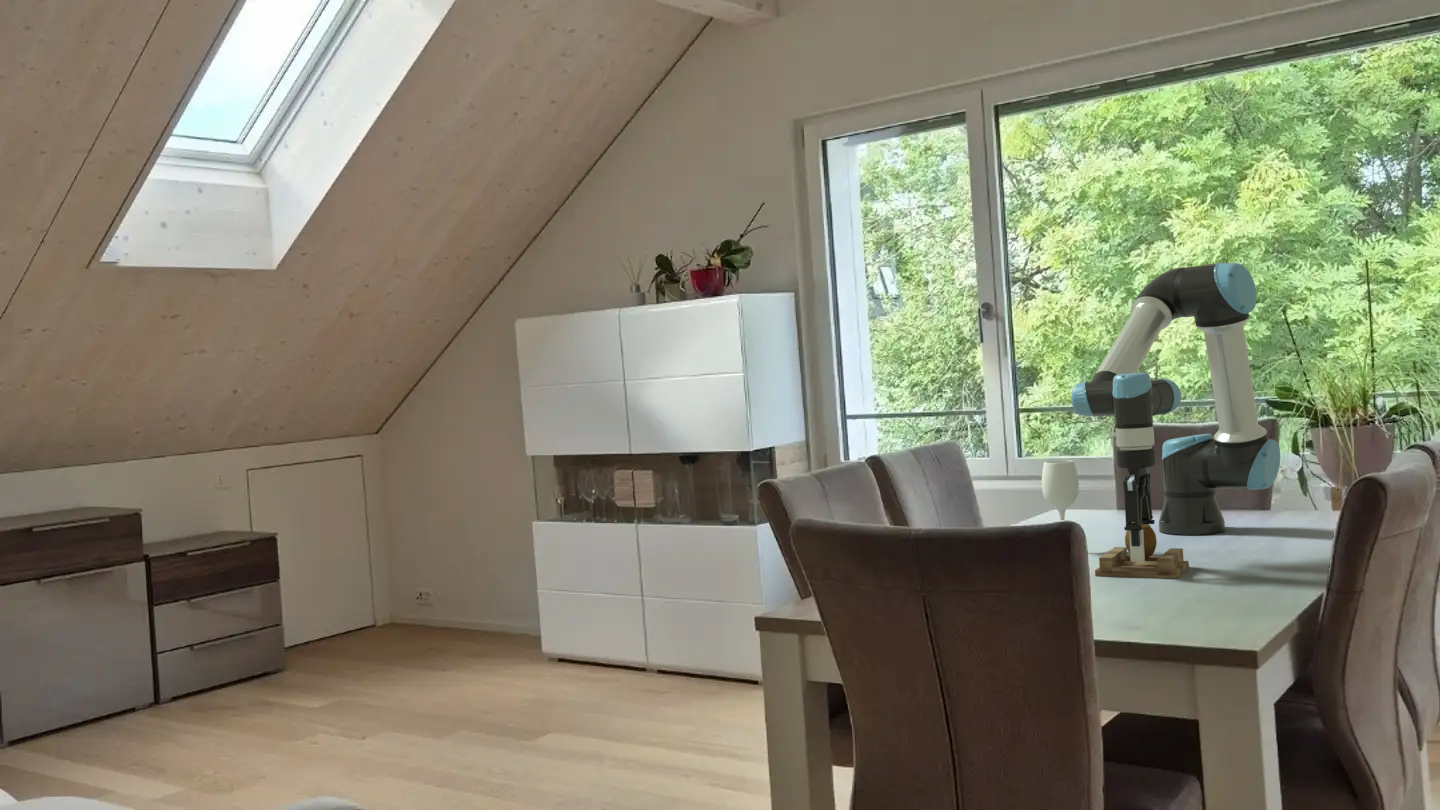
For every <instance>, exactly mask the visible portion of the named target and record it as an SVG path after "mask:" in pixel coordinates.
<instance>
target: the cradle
mask: <svg viewBox="0 0 1440 810" xmlns="http://www.w3.org/2000/svg"><path fill="white" fill-rule="evenodd" d="M1098 559H1099V561H1098V562H1099V563H1098V564H1099V567H1097V568H1096V569H1094V573H1095V574H1094V575H1095V577H1113V578H1115V577H1117V578H1118V577H1119V578H1122V577H1123V578H1143V577H1144V578H1147V579H1149V578H1150V579H1178V578H1179V576H1180V575H1182V574H1183V572H1185V571H1186V570H1187V569H1188V568H1189V567H1190V563H1189V560H1184V548H1180V547H1179V548H1177V547H1175V548H1173V547H1171V548H1168V550H1166V551H1165V552H1164V553H1163V554H1161V555H1160V556H1155V555H1154V556H1153V555H1152V556H1150V557H1148V558H1147V559H1145V562H1131V559H1130V555H1128V550H1127V548H1126V546H1125V547H1123V546H1122V547H1121V546H1119V547H1116V546H1114V547H1112V548H1111V549H1110V550H1109V551H1107V552H1105V553H1104V554H1103V555H1101V556H1099V558H1098Z"/></svg>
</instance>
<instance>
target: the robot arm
mask: <svg viewBox="0 0 1440 810" xmlns="http://www.w3.org/2000/svg"><path fill="white" fill-rule="evenodd" d="M1256 287H1257V286H1256V284H1255V281H1254V279H1253V276H1252V273H1251V272H1250V271H1249V269H1247V268H1246V267H1245V266H1244V265H1243V264H1242V263H1239V262H1229V263H1228V262H1217V263H1211V264H1210V263H1209V264H1202V265H1194V266H1187V267H1184V266H1182V267H1181V266H1180V267H1175V268H1172V269H1169V270H1167V271H1165V272H1163V273H1161V274H1160V275H1157V277H1155V278H1154V279H1153V280H1152V281H1151V282H1149V283H1148V284H1147V285H1146V286H1144V288H1143V289H1142V290H1140V292H1139V293H1138V295H1137V296H1136V297H1135V299H1134V301H1133V302H1132V304H1131V306H1130V315H1129V318H1128V319H1127V321H1126V323H1125V324H1124V326H1123V327H1122V329H1121V331H1120V332H1119V334H1118V335H1117V338H1116V339H1115V341H1114V342H1113V344H1112V346H1111V347H1110V348H1109V351H1108V352H1107V354H1106V355H1105V357H1104V358H1103V360H1102V362H1101V364H1100V365H1099V367H1098V369H1097V370H1096V371H1095V373H1094V375H1093V377H1092V378H1091V380H1090V381H1084V382H1078V383H1076V384H1075V385H1074V386H1073V388H1072V390H1071V398H1070V401H1071V406H1072V408H1073V410H1074V412H1075V413H1076V414H1078V415H1079V416H1082V417H1083V416H1084V417H1085V416H1086V417H1094V418H1096V417H1114V423H1115V424H1114V428H1115V431H1114V432H1113V433H1112V436H1113V437H1115V445H1116V447H1118V448H1119V449H1117V450H1116V465H1117V467H1118V468H1121V469H1126V470H1127V473H1126V474H1127V476H1125V477H1124V478H1125V479H1124V480H1123V481H1122V483H1123V484H1122V485H1123V491H1124V507H1125V510H1124V511H1125V514H1124V515H1125V526H1123V527H1124V531H1127V530H1129V541H1130V553H1129V556H1130V559H1131V562H1145V552H1144V534H1143V530H1141V529H1142V523H1143V524H1146V525H1149V526H1150V527H1151V525H1155V519H1154V516H1153V507H1152V506H1153V505H1152V493H1151V492H1152V491H1151V473H1147V468H1152V467H1154V466H1155V465H1156V453H1155V449H1154V446H1155V443H1156V442H1155V431H1154V420H1153V417H1154V416H1159V415H1162V416H1163V415H1164V416H1165V415H1167V414H1169V413H1172V412H1174V411H1175V410H1176V409H1177V408H1179V405H1180V403H1181V400H1182V392H1181V389H1180V388H1179V386H1178V385H1177V383H1175V382H1174V381H1173V380H1170V379H1169V378H1154V379H1151V376H1150V374H1149V373H1148V372H1138V370H1139V368H1140V366H1141V365H1142V363H1143V361H1144V360H1145V358H1146V357H1147V355H1148V353H1149V351H1150V350H1151V348H1152V347H1153V344H1154V343H1155V341H1156V339H1157V338H1158V336H1159V335H1160V332H1161V331H1162V330H1165V329H1166V328H1168V327H1169V326H1170V324H1171V323H1172V321H1174V320H1176V319H1180V318H1191V317H1194V322H1195V328H1197V329H1199V330H1201V331H1202V332H1203V334H1204V335H1203V336H1204V341H1205V347H1206V354H1207V355H1206V356H1207V360H1208V367H1209V373H1210V378H1211V385H1212V392H1213V400H1214V404H1215V405H1214V406H1215V410H1216V411H1215V412H1216V418H1217V424H1218V430H1217V432H1216V433H1215V434H1214V435H1212V434H1211V433H1202V434H1194V435H1189V436H1188V435H1187V436H1182V437H1176V438H1172V439H1167V440H1165V441H1164V442H1163V444H1162V446H1161V447H1162V448H1161V450H1162V452H1161V453H1162V455H1161V456H1162V457H1161V461H1162V473H1163V487H1164V489H1163V491H1164V501H1163V505H1162V509H1161V513H1160V516H1159V520H1158V530H1159V532H1160V533H1163V534H1168V535H1182V536H1185V535H1186V536H1188V535H1189V536H1190V535H1195V536H1196V535H1197V536H1199V535H1209V534H1218V533H1222V532H1224V531H1226V521H1225V518H1224V515H1223V514H1222V513H1223V512H1221V509H1220V507H1219V506H1220V505H1219V504H1218V500H1217V498H1216V497H1217V496H1216V489H1227V490H1228V489H1229V490H1230V489H1232V490H1248V491H1253V490H1265V489H1268V488H1270V487H1271V486H1272V485H1273V484H1274V483H1275V481H1276V479H1277V476H1278V473H1279V470H1280V465H1281V448H1280V445H1279V444H1278V443H1279V442H1277V441H1276V440H1274V439H1272V438H1270V439H1269V437H1268V432H1267V429H1266V428H1265V427H1263V426H1262V425H1260V424H1259V419H1258V412H1257V405H1256V400H1255V399H1256V398H1255V392H1254V387H1253V380H1252V374H1251V373H1252V372H1251V368H1250V367H1251V366H1250V359H1249V354H1248V347H1247V340H1246V339H1247V338H1246V334H1245V327H1244V326H1245V324H1246V323H1248V321H1249V320H1250V313H1251V312H1253V311H1254V310H1255V308H1256V304H1257V288H1256ZM1151 528H1152V527H1151ZM1151 556H1153V555H1151Z"/></svg>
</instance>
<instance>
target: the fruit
mask: <svg viewBox="0 0 1440 810" xmlns="http://www.w3.org/2000/svg"><path fill="white" fill-rule="evenodd" d="M1149 525H1150V524H1149ZM1149 525H1146V524H1143V523H1142V529H1141V530H1143V534H1144V552H1145V559H1147V558H1148V557H1150V556H1151V555H1152V556H1153V555H1154V553H1155V551H1156V548H1157V540H1158V539H1157V536H1156V532H1155V531H1154V529H1153V528H1152V527H1150V526H1149ZM1124 544H1125V547H1126V548H1127V553H1129V554H1130V541H1129V530H1126V532H1125V536H1124Z"/></svg>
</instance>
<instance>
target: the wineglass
mask: <svg viewBox="0 0 1440 810" xmlns="http://www.w3.org/2000/svg"><path fill="white" fill-rule="evenodd" d="M1079 483H1080V482H1079V476H1078V470H1077V468H1076V464H1075V461H1074V460H1071V459H1055V460H1046V461H1044V462H1043V467H1042V473H1041V490H1042V495H1043V497H1044V500H1045V501H1046V502H1047V503H1048V504H1049V506H1051V507H1053V508H1055V509H1056V510H1057V511H1058V514H1059V521H1060V520H1065V516H1066V510H1067V509H1068V508H1069V507H1071V506H1072V505H1073V504H1074V503H1075V502H1076V500H1077V498H1078V496H1079V490H1080V489H1079V488H1080V487H1079V485H1080V484H1079Z"/></svg>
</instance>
